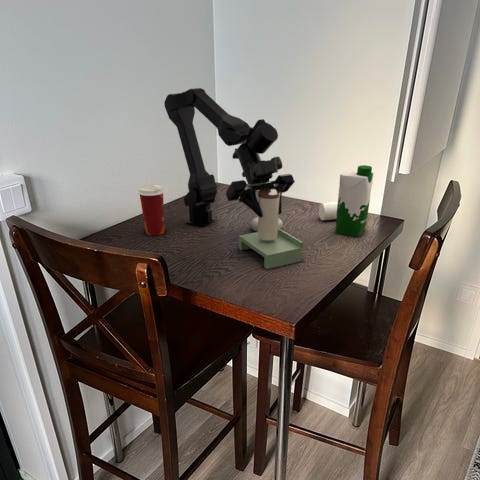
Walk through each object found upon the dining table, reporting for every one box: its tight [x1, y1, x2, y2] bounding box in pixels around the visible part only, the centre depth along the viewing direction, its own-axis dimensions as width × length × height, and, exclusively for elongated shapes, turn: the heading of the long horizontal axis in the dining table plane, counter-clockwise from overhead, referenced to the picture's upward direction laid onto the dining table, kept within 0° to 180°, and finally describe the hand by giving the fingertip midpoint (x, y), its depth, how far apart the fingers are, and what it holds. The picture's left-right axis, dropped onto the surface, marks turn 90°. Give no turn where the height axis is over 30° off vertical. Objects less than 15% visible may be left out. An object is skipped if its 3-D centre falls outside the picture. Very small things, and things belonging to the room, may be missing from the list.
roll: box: [318, 201, 338, 221], centre depth 160 cm, size 6×12×6 cm, turn 100°
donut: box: [250, 216, 283, 232], centre depth 153 cm, size 10×4×10 cm
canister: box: [257, 189, 280, 240], centre depth 131 cm, size 6×6×12 cm
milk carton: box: [335, 164, 375, 238], centre depth 146 cm, size 9×9×20 cm
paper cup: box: [137, 184, 165, 236], centre depth 148 cm, size 8×8×14 cm
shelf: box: [238, 228, 304, 270], centre depth 135 cm, size 16×11×6 cm
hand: (270, 215), depth 130 cm, fingers closed on canister, 5 cm apart
